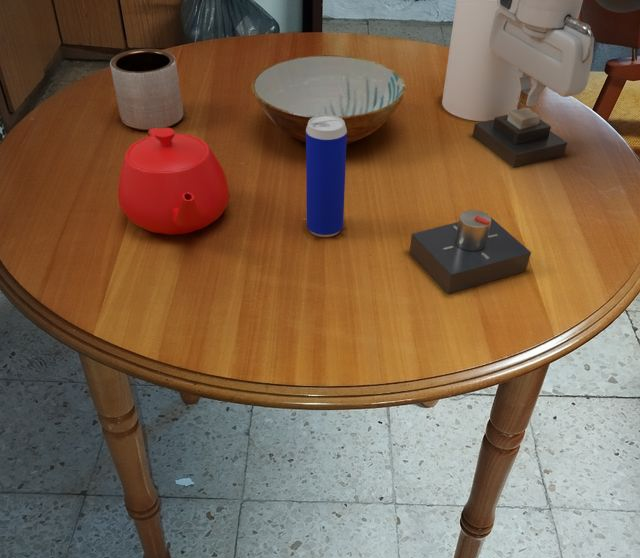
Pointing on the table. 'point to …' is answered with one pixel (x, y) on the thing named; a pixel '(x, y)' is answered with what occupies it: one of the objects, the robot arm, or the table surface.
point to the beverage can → (325, 174)
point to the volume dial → (473, 230)
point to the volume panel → (468, 257)
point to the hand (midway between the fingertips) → (526, 103)
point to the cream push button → (523, 118)
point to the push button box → (519, 141)
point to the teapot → (172, 183)
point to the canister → (477, 67)
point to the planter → (147, 88)
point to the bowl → (328, 93)
